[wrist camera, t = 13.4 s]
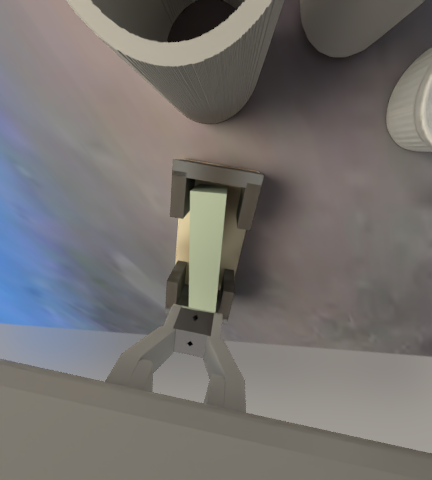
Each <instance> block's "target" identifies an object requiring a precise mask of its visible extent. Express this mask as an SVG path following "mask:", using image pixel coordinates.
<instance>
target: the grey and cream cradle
mask: <svg viewBox="0 0 432 480" xmlns="http://www.w3.org/2000/svg"><path fill="white" fill-rule="evenodd" d="M263 178H264V175H263V174H261V173H260V172H259V171H254V170H248V169H243V168H237V167H231V166H225V165H219V164H213V163H207V162H201V161H196V160H190V159H183V160H173V167H172V187H171V207H170V217H175V218H179V219H178V233H177V247H176V261H175V267H174V269H173V270H172V272H171V274H170V276H169V278H168V280H167V287H166V307H165V314H169V312H170V310H171V307H172V305H173V304H177V305H181V306H186V307H189V238H190V191H191V190H192V189H193V188H195V187H196V186H197V185H199V184H211V185H223V186H228V189H227V200H226V210H225V221H224V231H223V242H222V252H221V262H220V273H219V283H218V293H217V303H216V313H221V314H222V315H223V318H222V324H227V321H228V317H229V313H230V309H231V305H232V301H233V297H234V293H235V292H234V278H235V274H236V270H237V266H238V261H239V257H240V253H241V249H242V245H243V241H244V236H245V232H246V230H251V226H252V222H253V218H254V214H255V210H256V206H257V202H258V198H259V194H260V190H261V186H262V182H263Z"/></svg>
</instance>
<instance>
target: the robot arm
mask: <svg viewBox="0 0 432 480" xmlns="http://www.w3.org/2000/svg"><path fill="white" fill-rule="evenodd" d="M222 318H223V315H222V314H221V313H216V312H211V311H205V310H200V309H195V308H190V307H186V306H181V305H177V304H173V305H172V307H171V310H170V312H169V314H168V316H167V319H166V321H165V323H164V326H160V327H159V328H157V329H156V330H154V331H153V332H151V333H150V334H149V335H147V336H146V337H144V338H143V339H142V340H140V341H139V342H137V343H136V344H135V345H133V346H132V347H130V348H129V349H128V350H126V351H125V352H123V353H122V354H121V356H120V358H119V359H118V361H117V362H116V364H115V366H114V367H113V369H112V371H111V373H110V374H109V376H108V377H107V379H106V381H105V382H103V381H99V380H94V379H90V378H85V377H81V376H76V375H71V374H67V373H62V372H58V371H53V370H49V369H44V368H39V367H35V366H31V365H26V364H22V363H16V362H12V361H7V360H3V359H0V480H432V454H431V453H427V452H422V451H417V450H413V449H409V448H404V447H399V446H395V445H390V444H386V443H381V442H376V441H372V440H368V439H363V438H358V437H354V436H349V435H345V434H340V433H336V432H331V431H327V430H322V429H317V428H313V427H308V426H304V425H299V424H295V423H289V422H286V421H281V420H276V419H272V418H267V417H263V416H258V415H254V414H249V413H246V403H245V402H246V401H245V380H244V378H243V376H242V374H241V372H240V370H239V368H238V366H237V365H236V363H235V361H234V359H233V357H232V355H231V353H230V351H229V349H228V347H227V346H226V344H225V342H224V340H223V339H221V329H222ZM173 352H178V353H184V354H189V355H193V356H197V357H201V358H203V360H204V363H205V366H206V370H207V372H208V376H209V379H210V381H209V385H208V388H207V392H206V396H205V400H204V403H199V402H194V401H190V400H186V399H181V398H176V397H172V396H167V395H163V394H158V393H154V392H152V384H153V383H152V382H153V373H154V372H155V371H156V370H157V369H158V368H159V367H160V366H161V365H162V364H163V363H164V362H165V361H166V360H167V359H168V358H169V357H170V355H171V354H172V353H173Z"/></svg>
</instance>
